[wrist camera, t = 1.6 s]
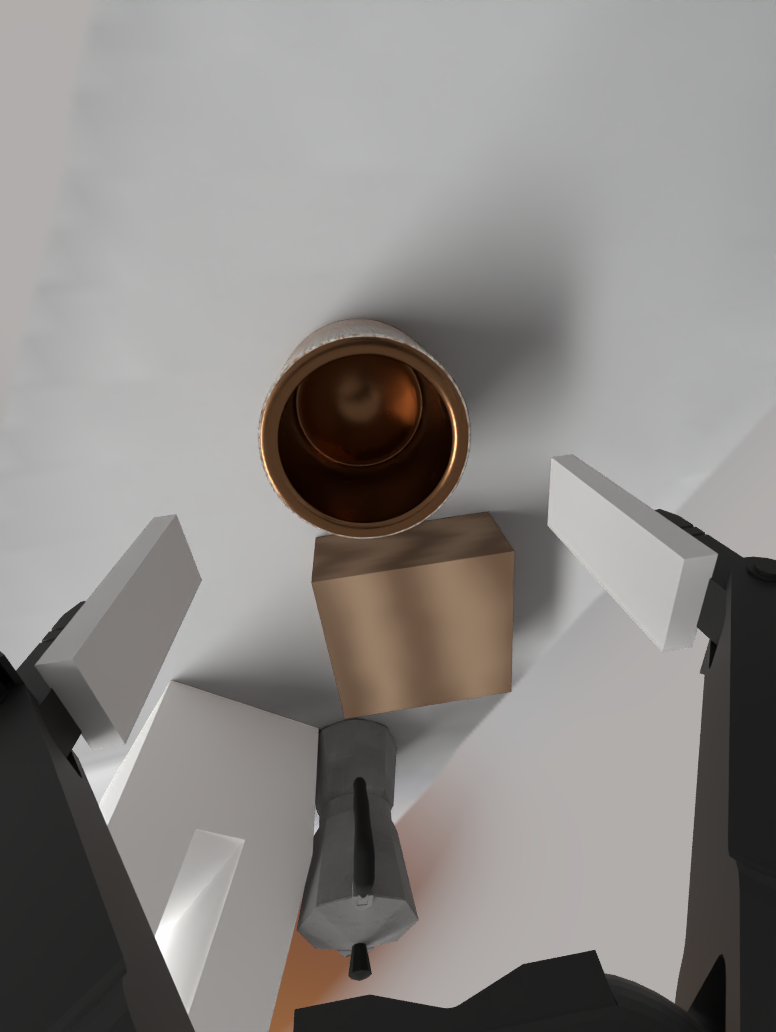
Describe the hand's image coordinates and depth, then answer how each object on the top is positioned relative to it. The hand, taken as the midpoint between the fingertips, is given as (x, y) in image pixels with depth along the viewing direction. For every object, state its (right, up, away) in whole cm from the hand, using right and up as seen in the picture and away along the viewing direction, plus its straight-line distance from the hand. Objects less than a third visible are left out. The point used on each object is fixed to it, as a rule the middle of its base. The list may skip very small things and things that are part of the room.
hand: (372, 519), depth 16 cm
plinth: (+3, -7, +23) cm, 24 cm away
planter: (-1, +8, +15) cm, 17 cm away
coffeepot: (-3, -24, +31) cm, 39 cm away
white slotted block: (-18, -26, +31) cm, 44 cm away
